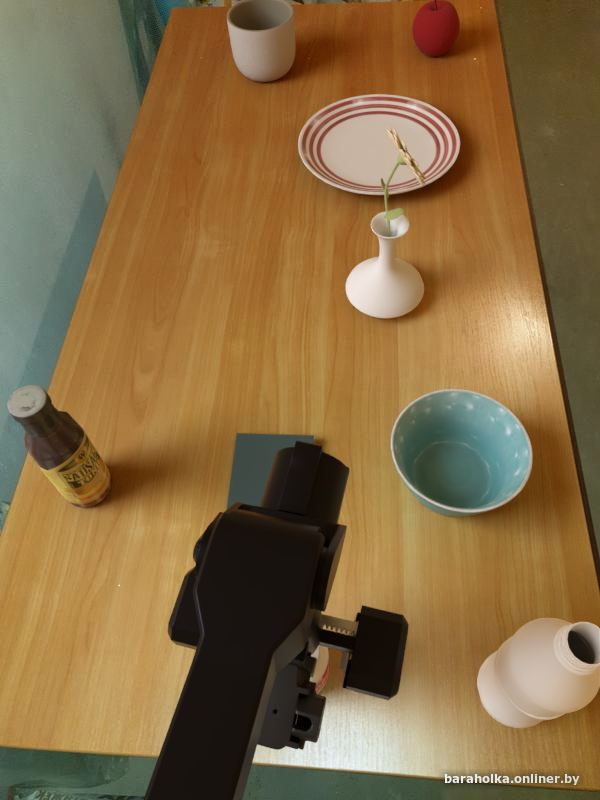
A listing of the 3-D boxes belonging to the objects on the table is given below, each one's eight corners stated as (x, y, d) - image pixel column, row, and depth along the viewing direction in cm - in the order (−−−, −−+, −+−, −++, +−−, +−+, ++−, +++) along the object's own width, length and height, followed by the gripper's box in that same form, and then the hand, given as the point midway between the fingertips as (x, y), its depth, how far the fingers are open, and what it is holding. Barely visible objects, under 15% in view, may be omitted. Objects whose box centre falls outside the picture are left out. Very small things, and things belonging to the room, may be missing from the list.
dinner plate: (306, 106, 119) (305, 89, 116) (454, 107, 117) (457, 90, 114) (291, 207, 105) (290, 191, 102) (460, 211, 102) (463, 195, 100)
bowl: (392, 414, 83) (397, 380, 76) (515, 429, 81) (532, 395, 74) (379, 527, 75) (383, 500, 68) (516, 547, 73) (534, 521, 66)
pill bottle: (304, 713, 65) (298, 701, 56) (260, 672, 68) (247, 653, 58) (341, 664, 68) (341, 644, 58) (297, 626, 70) (291, 600, 61)
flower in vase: (424, 326, 91) (449, 183, 69) (344, 324, 92) (345, 183, 70) (421, 258, 98) (443, 110, 76) (346, 258, 98) (348, 111, 77)
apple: (459, 62, 124) (468, 8, 115) (412, 64, 124) (418, 11, 116) (452, 36, 129) (460, -18, 120) (408, 38, 129) (412, -15, 121)
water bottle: (471, 723, 64) (535, 689, 43) (473, 649, 68) (534, 584, 47) (544, 737, 63) (647, 709, 42) (543, 661, 67) (637, 600, 46)
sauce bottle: (95, 517, 78) (27, 442, 61) (55, 498, 80) (-22, 419, 63) (125, 473, 81) (68, 389, 64) (85, 455, 83) (20, 369, 66)
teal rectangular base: (306, 573, 73) (305, 565, 71) (220, 568, 74) (216, 560, 71) (314, 440, 82) (313, 429, 79) (237, 437, 83) (234, 426, 80)
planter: (236, 54, 130) (228, -3, 120) (297, 51, 129) (294, -7, 120) (233, 90, 123) (224, 33, 114) (297, 87, 122) (293, 29, 113)
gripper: (116, 693, 43) (169, 717, 56) (391, 771, 39) (378, 777, 53) (172, 538, 48) (208, 593, 62) (418, 595, 45) (400, 640, 58)
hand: (294, 649), depth 58 cm, fingers open, 9 cm apart
